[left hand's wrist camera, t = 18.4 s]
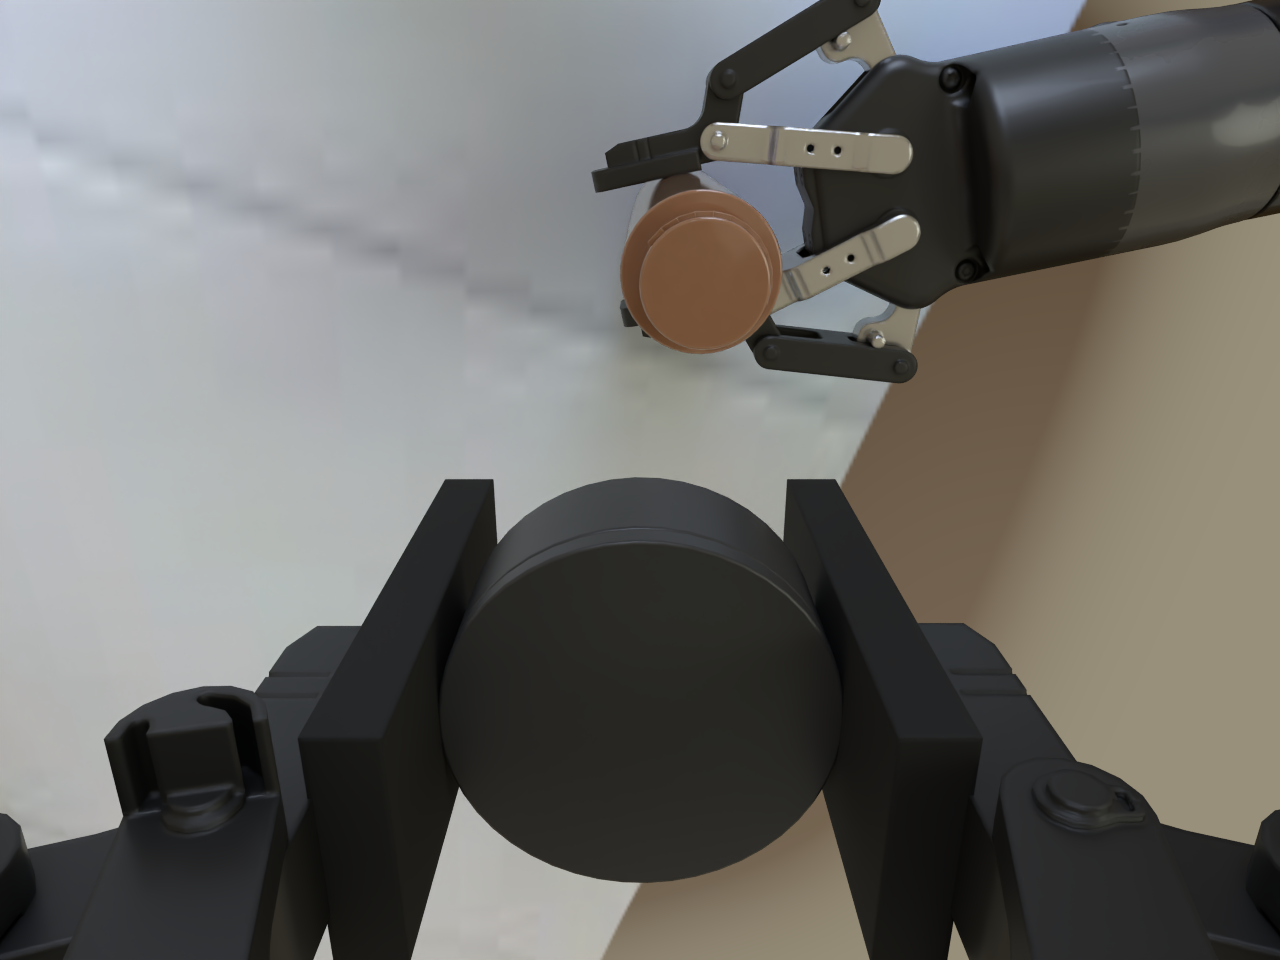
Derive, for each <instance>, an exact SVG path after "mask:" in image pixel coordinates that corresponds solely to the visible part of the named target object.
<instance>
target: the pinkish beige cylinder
mask: <svg viewBox="0 0 1280 960" xmlns="http://www.w3.org/2000/svg"><path fill="white" fill-rule="evenodd" d="M782 272H783V271H782V258H781V252H780V248H779V245H778V241H777V239H776V237H775V235H774V232H773V230H772V229H771V227H770V226H769V224H768V222H767V221H766V220H765V219H764V217H763V216H762V215H761V214H760V213H759V212H758V211H757V210H756V209H755V208H754V207H752V206H751V205H750V204H748V203H747V202H746V201H744V200H743V199H741V198H740V197H739V196H737V195H736V194H734V193H733V192H731V191H730V190H729V189H727V188H726V187H724V186H723V185H722V184H720V183H719V182H717V181H716V180H714V179H713V178H712V177H710V176H709V175H707V174H706V173H704V172H702V171H695V172H691V173H686V174H680V175H675V176H671V177H668V178H663V179H659V180H654V181H649V182H646V183H645V184H644V185H643V186H642V188H641V189H640V191H639V193H638V195H637V197H636V199H635V203H634V206H633V211H632V215H631V219H630V224H629V228H628V232H627V236H626V241H625V245H624V249H623V254H622V259H621V266H620V280H621V288H622V293H623V297H624V300H625V302H626V305H627V308H628V310H629V311H630V313H631V315H632V317H633V318H634V320H635V321H636V323H637V324H638V325H639V326H640V327H641V329H642V330H643V331H644V332H645V333H646V334H648V335H649V336H650V337H651V338H652V339H654V340H655V341H657V342H659V343H660V344H662V345H664V346H666V347H668V348H670V349H673V350H676V351H680V352H684V353H690V354H708V353H715V352H719V351H723V350H726V349H729V348H731V347H733V346H735V345H737V344H739V343H741V342H743V341H744V340H746V339H747V338H749V337H750V336H751V335H752V334H753V333H754V332H756V331H757V330H758V329H759V328H760V326H761V325H762V324H763V323H764V322H765V321H766V319H767V318H768V316H769V315H770V313H771V311H772V309H773V307H774V305H775V303H776V301H777V298H778V295H779V292H780V287H781V283H782Z"/></svg>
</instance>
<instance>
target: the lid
mask: <svg viewBox="0 0 1280 960" xmlns="http://www.w3.org/2000/svg"><path fill="white" fill-rule="evenodd" d="M438 710H439V724H440V734H441V740H442V745H443V749H444V753H445V756H446V759H447V761H448V764H449V766H450V769H451V772H452V774H453V776H454V778H455V780H456V782H457V783H458V785H459V787H460V789H461V791H462V793H463V794H464V796H465V797H466V798H467V800H468V801H469V802H470V804H471V805H472V806H473V808H474V809H475V810H476V812H477V813H478V814H479V815H480V816H481V817H482V818H483V819H484V820H485V821H486V822H487V823H488V824H489V825H490V826H491V827H492V828H493V829H494V830H495V831H497V832H498V833H499V834H500V835H502V836H503V837H504V838H505V839H507V840H508V841H509V842H510V843H512V844H513V845H515V846H517V847H518V848H520V849H521V850H523V851H525V852H526V853H528V854H530V855H531V856H533V857H535V858H537V859H540V860H542V861H544V862H546V863H548V864H550V865H552V866H555V867H558V868H561V869H564V870H566V871H569V872H572V873H575V874H579V875H584V876H588V877H592V878H596V879H602V880H610V881H618V882H636V883H651V882H664V881H674V880H680V879H685V878H691V877H696V876H700V875H703V874H706V873H710V872H713V871H717V870H720V869H722V868H725V867H727V866H730V865H732V864H734V863H737V862H739V861H742V860H743V859H745V858H747V857H749V856H751V855H752V854H754V853H756V852H758V851H760V850H762V849H763V848H765V847H766V846H767V845H769V844H770V843H772V842H773V841H774V840H776V839H777V838H779V837H780V836H782V835H783V834H784V833H785V832H786V831H787V830H788V829H789V828H790V827H791V826H793V825H794V824H795V823H796V822H797V821H798V820H799V819H800V818H801V817H802V815H803V814H804V813H805V812H806V811H807V809H808V808H809V807H810V806H811V805H812V804H813V802H814V801H815V799H816V798H817V796H818V795H819V793H820V791H821V790H822V788H823V787H824V785H825V784H826V781H827V779H828V777H829V775H830V773H831V771H832V768H833V766H834V764H835V761H836V758H837V754H838V751H839V743H840V732H841V722H842V710H843V689H842V683H841V677H840V673H839V670H838V667H837V664H836V661H835V658H834V656H833V653H832V650H831V647H830V645H829V642H828V639H827V637H826V634H825V631H824V629H823V626H822V623H821V621H820V618H819V615H818V613H817V610H816V607H815V604H814V602H813V599H812V596H811V594H810V591H809V588H808V586H807V583H806V580H805V578H804V575H803V573H802V571H801V569H800V568H799V566H798V564H797V562H796V560H795V558H794V556H793V555H792V553H791V552H790V551H789V549H788V548H787V547H786V545H785V544H784V542H783V541H782V540H781V539H780V538H779V536H778V535H777V534H776V533H775V532H774V531H773V530H772V529H771V528H770V527H769V526H768V525H767V524H766V523H765V522H763V521H762V520H761V519H760V518H758V517H757V516H756V515H754V514H753V513H752V512H751V511H749V510H748V509H746V508H745V507H743V506H741V505H740V504H738V503H736V502H735V501H733V500H731V499H729V498H728V497H725V496H723V495H721V494H718V493H716V492H714V491H711V490H709V489H707V488H703V487H700V486H696V485H693V484H689V483H686V482H681V481H674V480H668V479H661V478H637V477H634V478H624V479H613V480H607V481H603V482H598V483H593V484H589V485H585V486H583V487H580V488H577V489H574V490H571V491H569V492H566V493H564V494H562V495H560V496H558V497H556V498H554V499H552V500H550V501H548V502H546V503H544V504H542V505H541V506H539V507H538V508H536V509H535V510H534V511H532V512H531V513H529V514H528V515H526V516H525V517H524V518H523V519H522V520H520V521H519V522H518V523H517V524H516V525H515V526H514V527H513V528H512V529H510V530H509V531H508V532H507V534H506V535H505V536H504V537H503V538H502V540H501V541H500V542H499V543H498V544H497V546H496V547H495V548H494V550H493V551H492V553H491V554H490V556H489V558H488V559H487V561H486V562H485V564H484V566H483V568H482V570H481V572H480V575H479V577H478V579H477V582H476V584H475V587H474V589H473V592H472V595H471V597H470V600H469V603H468V605H467V608H466V611H465V613H464V616H463V619H462V622H461V624H460V627H459V630H458V632H457V635H456V638H455V640H454V643H453V646H452V649H451V651H450V654H449V657H448V659H447V662H446V665H445V669H444V673H443V677H442V681H441V685H440V694H439V704H438Z"/></svg>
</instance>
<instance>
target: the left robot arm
mask: <svg viewBox="0 0 1280 960" xmlns="http://www.w3.org/2000/svg"><path fill="white" fill-rule="evenodd" d="M783 542H784V544H785V545H786V547H787V548H788V549H789V551H790V552H791V553H792V555H793V556H794V558H795V560H796V562H797V564H798V566H799V568H800V569H801V571H802V573H803V575H804V578H805V580H806V583H807V586H808V588H809V591H810V594H811V596H812V599H813V602H814V604H815V607H816V610H817V613H818V615H819V618H820V621H821V623H822V626H823V629H824V631H825V634H826V637H827V639H828V642H829V645H830V647H831V650H832V653H833V656H834V658H835V661H836V664H837V667H838V670H839V673H840V677H841V683H842V689H843V710H842V722H841V732H840V743H839V751H838V754H837V758H836V761H835V764H834V766H833V768H832V771H831V773H830V775H829V777H828V779H827V781H826V784H825V785H824V787H823V788H822V790H823V794H824V798H825V801H826V805H827V808H828V812H829V815H830V819H831V823H832V826H833V830H834V833H835V837H836V840H837V844H838V848H839V851H840V855H841V858H842V862H843V865H844V869H845V873H846V876H847V880H848V883H849V887H850V890H851V894H852V898H853V901H854V905H855V908H856V912H857V916H858V919H859V923H860V926H861V930H862V934H863V937H864V941H865V944H866V948H867V951H868V955H869V959H870V960H947V958H948V952H949V946H950V940H951V934H952V927H953V921H954V923H955V925H956V928H957V930H958V933H959V935H960V938H961V940H962V943H963V945H964V948H965V950H966V953H967V955H968V958H969V960H1280V810H1275V811H1274V812H1273V813H1272V814H1270V815H1269V816H1268V817H1267V818H1266V819H1265V820H1263V821H1262V822H1261V826H1260V829H1259V832H1258V835H1257V839H1256V842H1255V845H1250V844H1245V843H1241V842H1236V841H1231V840H1227V839H1222V838H1218V837H1213V836H1209V835H1204V834H1199V833H1195V832H1190V831H1186V830H1182V829H1179V828H1175V827H1172V826H1168V825H1164V824H1161V823H1160V822H1159V819H1158V817H1157V815H1156V813H1155V812H1154V811H1153V809H1152V808H1151V806H1150V805H1149V804H1148V802H1147V801H1146V799H1145V798H1144V797H1143V795H1141V794H1140V793H1139V792H1137V791H1136V790H1135V789H1133V788H1132V787H1131V786H1130V785H1128V784H1127V783H1126V782H1124V781H1123V780H1122V779H1120V778H1118V777H1116V776H1114V775H1112V774H1110V773H1108V772H1106V771H1103V770H1101V769H1099V768H1097V767H1095V766H1093V765H1089V764H1085V763H1081V762H1077V761H1076V760H1075V758H1074V757H1073V755H1072V754H1071V753H1070V751H1069V750H1068V748H1067V747H1066V745H1065V744H1064V743H1063V741H1062V740H1061V738H1060V737H1059V735H1058V734H1057V733H1056V731H1055V730H1054V728H1053V727H1052V725H1051V724H1050V723H1049V721H1048V720H1047V718H1046V717H1045V715H1044V714H1043V713H1042V711H1041V710H1040V708H1039V707H1038V706H1037V704H1036V703H1035V701H1034V700H1033V698H1032V697H1031V695H1027V693H1026V688H1025V687H1024V686H1023V684H1022V683H1021V681H1020V680H1019V678H1018V677H1017V676H1016V674H1012V668H1011V667H1010V666H1009V664H1008V663H1007V661H1006V660H1005V658H1004V657H1003V656H1002V654H1001V653H1000V651H999V650H998V648H997V647H996V646H995V644H993V643H992V642H990V641H989V640H987V639H986V638H985V637H983V636H982V635H980V634H979V633H977V632H976V631H974V630H973V629H971V628H970V627H968V626H967V625H965V624H964V623H917V622H916V620H915V618H914V616H913V614H912V613H911V611H910V609H909V607H908V606H907V604H906V602H905V601H904V599H903V597H902V595H901V593H900V592H899V590H898V588H897V586H896V585H895V583H894V581H893V580H892V578H891V576H890V574H889V573H888V571H887V569H886V567H885V566H884V564H883V562H882V560H881V559H880V557H879V555H878V553H877V552H876V550H875V548H874V546H873V545H872V543H871V541H870V539H869V538H868V536H867V534H866V532H865V531H864V529H863V527H862V525H861V524H860V522H859V520H858V518H857V517H856V515H855V513H854V511H853V510H852V508H851V506H850V504H849V503H848V501H847V499H846V497H845V496H844V494H843V492H842V490H841V489H840V487H839V485H838V483H837V482H836V480H835V479H787V491H786V507H785V523H784V539H783ZM496 546H497V531H496V514H495V498H494V482H493V479H445V481H444V483H443V484H442V486H441V488H440V490H439V491H438V493H437V495H436V497H435V498H434V500H433V502H432V504H431V505H430V507H429V509H428V511H427V512H426V514H425V516H424V518H423V519H422V521H421V523H420V525H419V526H418V528H417V530H416V532H415V533H414V535H413V537H412V539H411V540H410V542H409V544H408V546H407V547H406V549H405V551H404V553H403V554H402V556H401V558H400V560H399V561H398V563H397V565H396V567H395V568H394V570H393V572H392V574H391V575H390V577H389V579H388V581H387V582H386V584H385V586H384V587H383V589H382V591H381V593H380V594H379V596H378V598H377V600H376V601H375V603H374V605H373V607H372V608H371V610H370V612H369V614H368V615H367V617H366V619H365V621H364V622H363V624H362V626H317V627H315V628H314V629H312V630H311V631H309V632H308V633H307V634H305V635H304V636H302V637H301V638H299V639H298V640H296V641H295V642H293V643H292V644H291V645H289V646H288V647H286V649H285V650H284V651H283V653H282V654H281V656H280V657H279V659H278V660H277V662H276V663H275V664H274V666H273V667H272V669H271V670H270V672H269V677H265V679H264V680H263V682H262V683H261V684H260V686H259V687H258V689H257V690H256V692H255V693H254V692H253V691H249V690H245V689H241V688H237V687H233V686H203V687H198V688H194V689H189V690H184V691H180V692H175V693H171V694H169V695H167V696H164V697H162V698H159V699H157V700H154V701H152V702H149V703H147V704H144V705H142V706H141V707H139V708H138V709H136V710H135V711H133V712H132V713H130V714H129V715H127V716H126V717H124V718H123V719H121V720H120V721H119V722H118V723H117V724H116V725H115V726H114V728H113V729H112V730H111V731H110V732H109V734H108V735H107V736H106V737H105V738H104V742H105V746H106V750H107V754H108V758H109V762H110V766H111V770H112V774H113V777H114V781H115V785H116V789H117V793H118V797H119V801H120V805H121V809H122V813H123V818H122V821H121V823H120V826H119V828H116V829H112V830H109V831H105V832H102V833H98V834H94V835H90V836H85V837H80V838H76V839H71V840H67V841H62V842H58V843H53V844H48V845H44V846H39V847H35V848H30V849H27V846H26V843H25V840H24V836H23V833H22V830H21V826H20V825H19V824H18V823H16V822H15V821H14V820H13V819H12V818H11V817H9V816H8V815H7V814H2V813H0V960H313V959H314V956H315V954H316V951H317V949H318V946H319V944H320V941H321V939H322V936H323V934H324V931H325V929H326V926H327V924H328V930H329V936H330V942H331V949H332V955H333V960H411V957H412V953H413V950H414V946H415V943H416V939H417V936H418V932H419V928H420V925H421V921H422V918H423V914H424V910H425V907H426V903H427V900H428V896H429V893H430V889H431V885H432V882H433V878H434V875H435V871H436V867H437V864H438V860H439V857H440V853H441V850H442V846H443V842H444V839H445V835H446V832H447V828H448V825H449V821H450V817H451V814H452V810H453V807H454V803H455V799H456V796H457V792H458V789H459V785H458V783H457V782H456V780H455V778H454V776H453V774H452V772H451V769H450V766H449V764H448V761H447V759H446V756H445V753H444V749H443V745H442V740H441V734H440V724H439V710H438V704H439V694H440V685H441V681H442V677H443V673H444V669H445V665H446V662H447V659H448V657H449V654H450V651H451V649H452V646H453V643H454V640H455V638H456V635H457V632H458V630H459V627H460V624H461V622H462V619H463V616H464V613H465V611H466V608H467V605H468V603H469V600H470V597H471V595H472V592H473V589H474V587H475V584H476V582H477V579H478V577H479V575H480V572H481V570H482V568H483V566H484V564H485V562H486V561H487V559H488V558H489V556H490V554H491V553H492V551H493V550H494V548H495V547H496Z"/></svg>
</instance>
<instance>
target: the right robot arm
mask: <svg viewBox="0 0 1280 960" xmlns="http://www.w3.org/2000/svg"><path fill="white" fill-rule="evenodd" d="M880 2H881V0H820V1H818V2H816V3H815V4H813V5H811V6H810V7H808V8H807V9H805V10H803V11H802V12H800V13H798V14H797V15H795V16H794V17H792V18H790V19H789V20H787V21H786V22H784V23H782V24H781V25H779V26H777V27H776V28H774V29H773V30H771V31H769V32H768V33H766V34H765V35H763V36H761V37H760V38H758V39H756V40H755V41H753V42H752V43H750V44H748V45H747V46H745V47H743V48H742V49H740V50H739V51H737V52H735V53H734V54H732V55H731V56H729V57H727V58H726V59H724V60H722V61H721V62H719V63H718V64H717V65H716V66H715V67H714V68H713V69H712V70H711V71H710V72H709V74H708V76H707V79H706V89H705V96H704V102H703V108H702V113H701V115H700V117H699V119H698V120H697V122H696V123H695V124H694V125H692V126H691V127H689V128H686V129H683V130H678V131H674V132H669V133H665V134H660V135H656V136H651V137H647V138H642V139H638V140H633V141H629V142H624V143H620V144H617V145H616V146H615V147H613V148H612V149H610V150H609V151H608V152H606V153H605V155H606V160H607V165H608V167H607V168H603V169H598V170H595V171H592V172H591V173H592V178H593V182H594V187H595V192H596V193H598V192H603V191H608V190H613V189H617V188H622V187H627V186H631V185H636V184H640V183H645V182H649V181H654V180H659V179H663V178H668V177H671V176H675V175H680V174H686V173H691V172H695V171H700V170H702V169H701V164H703V163H708V162H713V161H729V162H743V163H756V164H768V165H779V166H792V167H794V173H795V180H796V185H797V188H798V190H799V192H800V195H801V197H802V200H803V202H804V205H805V209H804V217H803V226H802V231H803V238H804V244H802V245H800V246H798V247H796V248H794V249H792V250H790V251H788V252H786V253H784V254H783V255H781V258H782V271H783V272H782V283H781V287H780V292H779V295H778V298H777V301H776V303H775V305H774V307H773V309H772V311H771V313H770V314H772V313H774V312H776V311H778V310H780V309H782V308H784V307H786V306H788V305H790V304H792V303H794V302H797V301H803V300H806V299H809V298H811V297H813V296H815V295H817V294H819V293H821V292H823V291H825V290H827V289H829V288H831V287H833V286H835V285H837V284H839V283H841V282H843V281H845V282H847V283H849V284H851V285H853V286H855V287H858V288H860V289H862V290H864V291H866V292H868V293H870V294H872V295H875V296H877V297H879V298H881V299H883V300H885V301H887V302H889V306H888V308H887V309H886V311H885V312H884V313H882V314H881V315H879V316H876V317H867V318H864V319H862V320H860V321H859V322H858V323H857V324H856V325H855V327H854V329H853V333H847V332H838V331H829V330H820V329H811V328H802V327H793V326H784V325H775V323H774V321H773V320H772V318H771V316H770V315H769V316H768V318H767V319H766V321H765V322H764V323H763V324H762V325H761V326H760V328H759V329H758V330H757V331H756V332H754V333H753V334H752V335H751V336H750V337H749V338H747V339H746V342H747V344H748V345H749V347H750V349H751V350H752V352H753V354H754V357H755V359H756V361H757V363H758V364H759V365H760V366H761V367H763V368H765V369H772V370H781V371H790V372H799V373H808V374H818V375H827V376H836V377H845V378H854V379H864V380H873V381H882V382H891V383H904V382H907V381H909V380H910V379H911V378H912V377H913V376H914V375H915V373H916V371H917V360H916V358H915V357H914V355H912V354H911V350H912V345H913V341H914V336H915V332H916V327H917V322H918V318H919V313H920V309H921V308H924V307H926V306H928V305H930V304H932V303H933V302H935V301H936V300H937V299H938V298H939V297H941V296H942V295H943V294H945V293H946V292H948V291H950V290H952V289H954V288H956V287H959V286H962V285H967V284H972V283H977V282H981V281H987V280H991V279H996V278H1001V277H1006V276H1011V275H1016V274H1021V273H1026V272H1031V271H1036V270H1041V269H1046V268H1050V267H1055V266H1060V265H1065V264H1070V263H1075V262H1080V261H1085V260H1090V259H1095V258H1099V257H1104V256H1109V255H1114V254H1119V253H1124V252H1129V251H1134V250H1139V249H1144V248H1149V247H1154V246H1159V245H1163V244H1167V243H1172V242H1176V241H1179V240H1182V239H1186V238H1189V237H1192V236H1195V235H1198V234H1201V233H1204V232H1207V231H1209V230H1212V229H1215V228H1218V227H1221V226H1224V225H1228V224H1232V223H1236V222H1240V221H1243V220H1247V219H1253V218H1257V217H1263V216H1267V215H1272V214H1277V213H1280V0H1252V1H1247V2H1243V3H1239V4H1234V5H1227V6H1222V7H1214V8H1202V9H1187V10H1177V11H1169V12H1163V13H1157V14H1152V15H1146V16H1142V17H1137V18H1133V19H1128V20H1124V21H1119V22H1117V21H1115V22H1105V23H1101V24H1097V25H1095V26H1092V27H1090V28H1088V29H1084V30H1079V31H1075V32H1070V33H1066V34H1061V35H1057V36H1052V37H1048V38H1043V39H1039V40H1035V41H1030V42H1026V43H1021V44H1017V45H1012V46H1008V47H1003V48H999V49H994V50H990V51H985V52H981V53H977V54H972V55H968V56H963V57H959V58H954V59H950V60H945V61H941V62H928V61H922V60H919V59H916V58H914V57H911V56H907V55H896V54H895V51H894V49H893V47H892V44H891V42H890V40H889V37H888V35H887V33H886V30H885V28H884V26H883V23H882V21H881V18H880V16H879V14H878V11H877V9H878V7H879V5H880ZM815 49H816V51H817V53H818V55H819V57H820V58H821V59H822V60H823V61H824V62H826V63H829V64H837V63H840V62H843V61H846V60H853V61H856V62H858V63H859V64H860V65H861V66H862V67H863V69H864V70H865V71H864V72H863V73H862V75H861V76H860V77H859V78H858V79H857V80H856V81H855V82H854V83H853V84H852V86H851V87H850V88H849V89H848V90H847V91H846V92H845V93H844V94H843V95H842V97H841V98H840V99H839V100H838V101H837V102H836V103H835V104H834V105H833V106H832V107H831V109H830V110H829V111H828V112H827V113H826V114H825V115H824V116H823V117H822V118H821V120H820V121H819V122H818V123H817V124H816V125H815V126H814V127H813V128H812V129H808V128H795V127H781V126H765V125H752V124H739V117H740V111H741V105H742V99H743V94H744V93H745V92H746V91H748V90H750V89H751V88H753V87H754V86H756V85H758V84H759V83H761V82H763V81H764V80H766V79H768V78H769V77H771V76H773V75H774V74H776V73H778V72H779V71H781V70H782V69H784V68H786V67H787V66H789V65H791V64H792V63H794V62H796V61H797V60H799V59H801V58H802V57H804V56H806V55H807V54H809V53H810V52H812V51H814V50H815ZM824 271H826V272H824ZM620 309H621V314H622V319H623V323H624V326H625V327H633V326H638V324H637V323H636V321H635V320H634V318H633V317H632V315H631V313H630V311H629V310H628V308H627V305H626V302H625V300H622V301H621V305H620ZM642 334H643V336H644V337H650V336H649V335H648V334H646V333H645V332H644V331H643V330H642ZM650 338H651V337H650Z"/></svg>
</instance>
